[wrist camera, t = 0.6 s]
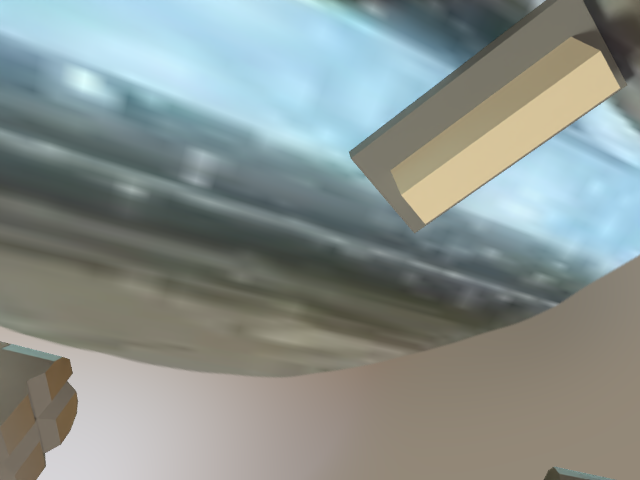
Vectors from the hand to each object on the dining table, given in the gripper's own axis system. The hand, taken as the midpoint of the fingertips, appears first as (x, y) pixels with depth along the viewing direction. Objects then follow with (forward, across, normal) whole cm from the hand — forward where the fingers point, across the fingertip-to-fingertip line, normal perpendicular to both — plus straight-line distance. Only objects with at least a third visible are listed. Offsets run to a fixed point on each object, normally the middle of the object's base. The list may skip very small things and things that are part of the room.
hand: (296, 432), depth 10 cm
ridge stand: (+46, -7, +10) cm, 47 cm away
